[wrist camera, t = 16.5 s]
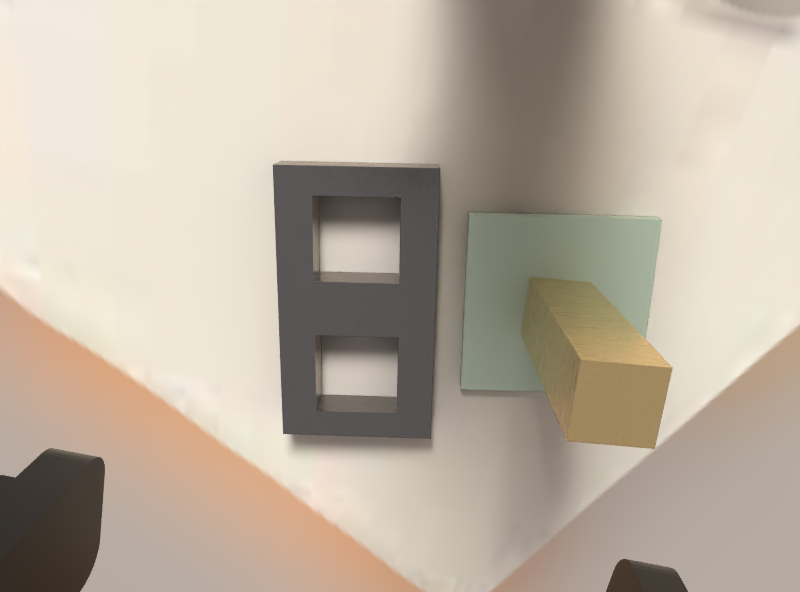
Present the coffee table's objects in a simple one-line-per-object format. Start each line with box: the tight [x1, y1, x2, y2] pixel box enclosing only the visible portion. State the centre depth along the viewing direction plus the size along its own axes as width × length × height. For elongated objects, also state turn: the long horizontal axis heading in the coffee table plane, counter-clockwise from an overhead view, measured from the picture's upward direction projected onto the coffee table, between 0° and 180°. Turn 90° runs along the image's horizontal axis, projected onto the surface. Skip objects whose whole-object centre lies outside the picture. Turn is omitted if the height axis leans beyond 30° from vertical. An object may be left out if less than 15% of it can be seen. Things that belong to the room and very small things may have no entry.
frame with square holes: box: [273, 161, 440, 439], centre depth 42 cm, size 18×10×2 cm, turn 179°
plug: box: [521, 277, 672, 449], centre depth 35 cm, size 4×4×14 cm
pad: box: [460, 212, 662, 392], centre depth 42 cm, size 12×12×1 cm
